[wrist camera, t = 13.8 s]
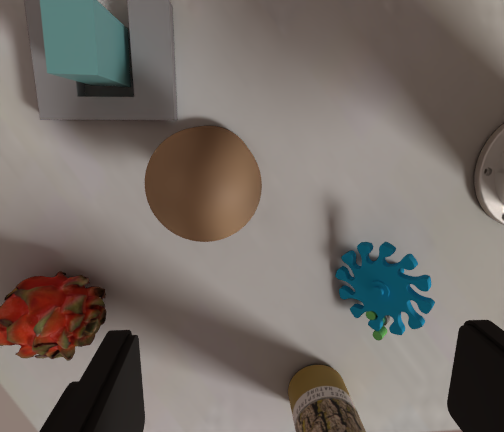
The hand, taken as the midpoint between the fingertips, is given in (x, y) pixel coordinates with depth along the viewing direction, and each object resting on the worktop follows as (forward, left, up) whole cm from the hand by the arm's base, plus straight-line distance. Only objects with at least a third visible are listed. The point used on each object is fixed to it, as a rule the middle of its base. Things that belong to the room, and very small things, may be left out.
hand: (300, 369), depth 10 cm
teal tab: (+13, -13, -28) cm, 34 cm away
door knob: (+4, -2, -28) cm, 29 cm away
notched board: (+13, -12, -28) cm, 33 cm away
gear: (-13, +10, -29) cm, 33 cm away
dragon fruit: (+20, +12, -29) cm, 37 cm away
